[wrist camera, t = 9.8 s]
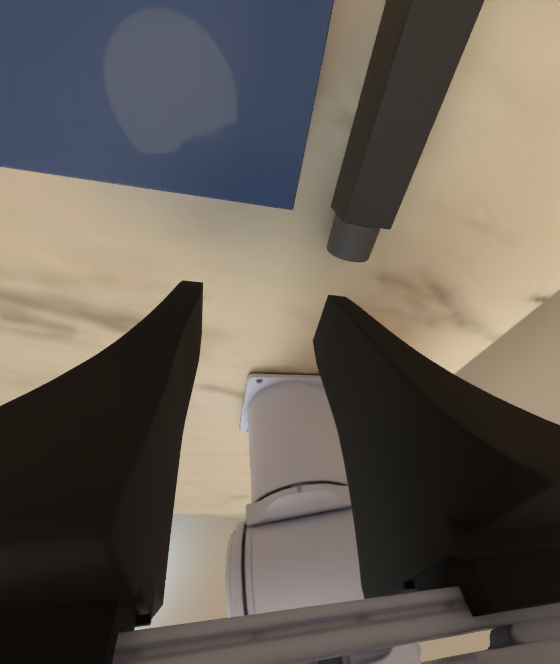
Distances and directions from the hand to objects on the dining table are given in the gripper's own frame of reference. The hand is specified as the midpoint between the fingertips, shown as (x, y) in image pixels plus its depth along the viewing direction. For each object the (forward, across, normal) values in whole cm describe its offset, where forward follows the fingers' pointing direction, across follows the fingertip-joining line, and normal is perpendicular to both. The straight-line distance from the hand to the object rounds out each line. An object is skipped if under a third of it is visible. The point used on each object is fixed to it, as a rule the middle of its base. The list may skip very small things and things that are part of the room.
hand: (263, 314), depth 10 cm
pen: (+9, -6, -6) cm, 12 cm away
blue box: (+9, +4, -6) cm, 11 cm away
